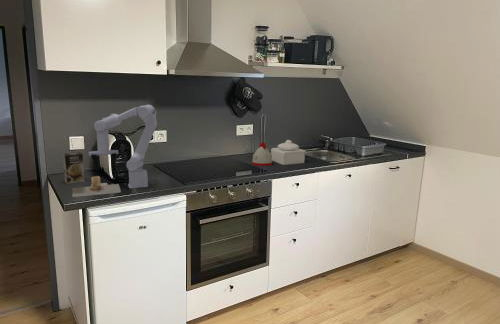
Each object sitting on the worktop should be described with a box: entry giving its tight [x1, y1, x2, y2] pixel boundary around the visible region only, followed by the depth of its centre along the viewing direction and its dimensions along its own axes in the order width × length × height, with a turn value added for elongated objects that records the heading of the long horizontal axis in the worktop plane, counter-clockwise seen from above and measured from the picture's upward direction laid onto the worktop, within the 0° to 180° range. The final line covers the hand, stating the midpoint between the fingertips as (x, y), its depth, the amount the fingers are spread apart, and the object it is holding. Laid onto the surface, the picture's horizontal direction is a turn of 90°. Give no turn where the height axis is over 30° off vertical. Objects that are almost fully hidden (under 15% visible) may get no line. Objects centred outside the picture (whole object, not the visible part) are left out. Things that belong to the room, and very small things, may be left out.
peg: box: [91, 175, 101, 190], centre depth 194 cm, size 4×4×8 cm
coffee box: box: [62, 152, 86, 185], centre depth 210 cm, size 9×6×16 cm
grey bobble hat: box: [251, 141, 273, 167], centre depth 265 cm, size 14×14×15 cm
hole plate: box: [72, 183, 122, 198], centre depth 194 cm, size 22×11×2 cm, turn 114°
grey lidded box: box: [270, 139, 307, 166], centre depth 273 cm, size 18×18×16 cm
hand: (104, 168), depth 205 cm, fingers open, 7 cm apart
